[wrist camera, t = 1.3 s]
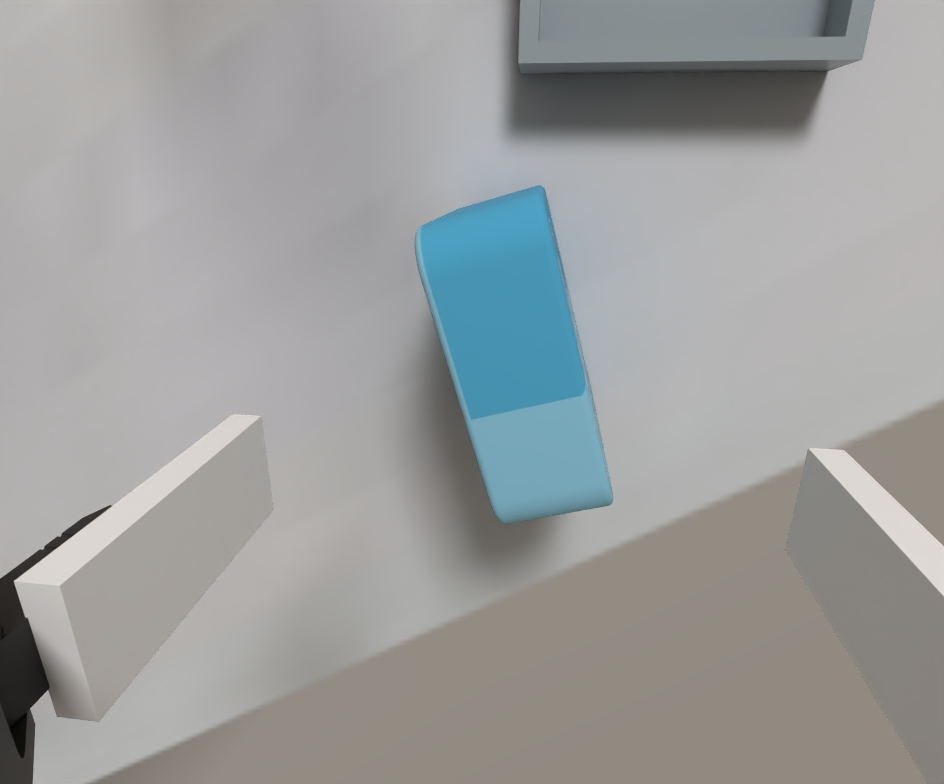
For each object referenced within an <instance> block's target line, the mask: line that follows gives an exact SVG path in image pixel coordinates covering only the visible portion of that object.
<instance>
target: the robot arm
mask: <svg viewBox="0 0 944 784" xmlns="http://www.w3.org/2000/svg"><path fill="white" fill-rule="evenodd" d="M272 511H273V503H272V495H271V487H270V479H269V471H268V463H267V456H266V448H265V440H264V432H263V424H262V416H255V415H238V414H233V415H231V416H230V417H229V418H227V419H226V420H225V421H223V422H222V423H221V424H219V425H218V426H217V427H215V428H214V429H213V430H212V431H210V432H209V433H208V434H206V435H205V436H204V437H202V438H201V439H200V440H198V441H197V442H196V443H194V444H193V445H192V446H191V447H189V448H188V449H187V450H185V451H184V452H183V453H181V454H180V455H179V456H177V457H176V458H175V459H173V460H172V461H171V462H170V463H168V464H167V465H166V466H164V467H163V468H162V469H160V470H159V471H158V472H156V473H155V474H154V475H152V476H151V477H150V478H149V479H147V480H146V481H145V482H143V483H142V484H141V485H139V486H138V487H137V488H135V489H134V490H133V491H131V492H130V493H129V494H128V495H126V496H125V497H124V498H122V499H121V500H120V501H118V502H117V503H116V504H114V505H113V506H111V505H109V506H107V507H105V508H103V509H101V510H99V511H97V512H94V513H92V514H90V515H88V516H86V517H84V518H82V519H81V520H79V521H78V522H77V523H75V524H74V525H72V526H71V527H70V528H68V529H67V530H66V531H64V532H63V533H62V536H61V537H56V538H55V539H54V540H52V541H51V542H49V543H48V544H47V545H45V546H44V547H45V548H44V550H39V551H37V552H36V553H35V554H33V555H32V556H31V557H29V558H28V559H26V560H25V561H24V562H22V563H21V564H20V565H18V566H17V567H16V568H14V569H13V570H12V571H10V572H9V573H8V574H6V575H5V576H3V577H2V578H1V579H0V784H33V762H34V740H35V722H34V719H33V716H32V713H31V710H30V708H31V707H32V706H33V705H34V704H35V703H36V702H37V701H38V700H39V699H40V697H41V696H42V695H43V694H44V693H45V692H46V691H47V690H49V693H50V696H51V700H52V703H53V706H54V709H55V712H56V715H57V717H65V718H72V719H80V720H88V721H96V722H99V721H100V720H101V719H102V717H103V716H104V715H105V714H106V712H107V711H108V710H109V709H110V708H111V706H112V705H113V704H114V703H115V702H116V700H117V699H118V698H119V697H120V695H121V694H122V693H123V692H124V691H125V689H126V688H127V687H128V686H129V685H130V683H131V682H132V681H133V680H134V679H135V677H136V676H137V675H138V674H139V672H140V671H141V670H142V669H143V668H144V666H145V665H146V664H147V663H148V662H149V660H150V659H151V658H152V657H153V655H154V654H155V653H156V652H157V651H158V649H159V648H160V647H161V646H162V645H163V643H164V642H165V641H166V640H167V638H168V637H169V636H170V635H171V634H172V632H173V631H174V630H175V629H176V628H177V626H178V625H179V624H180V623H181V621H182V620H183V619H184V618H185V617H186V615H187V614H188V613H189V612H190V611H191V609H192V608H193V607H194V606H195V604H196V603H197V602H198V601H199V600H200V598H201V597H202V596H203V595H204V594H205V592H206V591H207V590H208V589H209V587H210V586H211V585H212V584H213V583H214V581H215V580H216V579H217V578H218V577H219V575H220V574H221V573H222V572H223V571H224V569H225V568H226V567H227V566H228V564H229V563H230V562H231V561H232V560H233V558H234V557H235V556H236V555H237V554H238V552H239V551H240V550H241V549H242V547H243V546H244V545H245V544H246V543H247V541H248V540H249V539H250V538H251V537H252V535H253V534H254V533H255V532H256V530H257V529H258V528H259V527H260V526H261V524H262V523H263V522H264V521H265V520H266V518H267V517H268V516H269V515H270V513H271V512H272ZM785 551H786V552H787V554H788V556H789V557H790V559H791V560H792V562H793V564H794V566H795V567H796V569H797V570H798V572H799V574H800V575H801V577H802V579H803V580H804V582H805V584H806V585H807V587H808V589H809V590H810V592H811V593H812V595H813V597H814V598H815V600H816V602H817V603H818V605H819V607H820V608H821V610H822V612H823V613H824V615H825V617H826V618H827V620H828V621H829V623H830V625H831V626H832V628H833V630H834V631H835V633H836V635H837V636H838V638H839V640H840V641H841V643H842V644H843V646H844V648H845V649H846V651H847V653H848V654H849V656H850V658H851V659H852V661H853V663H854V664H855V666H856V667H857V669H858V671H859V672H860V674H861V676H862V677H863V679H864V681H865V682H866V684H867V685H868V687H869V689H870V690H871V692H872V694H873V695H874V697H875V699H876V700H877V702H878V703H879V705H880V707H881V708H882V710H883V712H884V713H885V715H886V717H887V718H888V720H889V722H890V723H891V725H892V727H893V728H894V730H895V732H896V733H897V735H898V736H899V738H900V740H901V741H902V743H903V745H904V746H905V748H906V750H907V751H908V753H909V755H910V756H911V758H912V759H913V761H914V763H915V764H916V766H917V768H918V769H919V771H920V773H921V774H922V776H923V778H924V779H925V781H926V782H927V784H944V546H943V545H942V544H941V543H939V542H938V541H937V540H936V539H935V538H934V537H933V536H932V535H931V534H930V533H929V532H928V531H927V530H926V529H925V528H924V527H923V526H922V525H921V524H920V523H919V522H918V521H917V520H916V519H914V517H913V516H912V515H911V514H909V513H908V512H907V511H906V510H905V509H904V508H903V507H902V506H901V505H900V504H899V503H898V502H897V501H896V500H895V499H894V498H893V497H892V496H891V495H890V494H889V493H888V492H887V491H886V490H884V489H883V488H882V487H881V486H880V485H879V484H878V483H877V482H876V481H875V480H874V479H873V478H872V477H871V476H870V475H869V474H868V473H867V472H866V471H865V470H864V469H863V468H862V467H861V466H860V465H859V464H858V463H857V462H856V461H855V460H854V459H853V458H852V457H850V456H849V455H848V454H847V453H846V452H845V451H844V450H833V449H816V448H808V451H807V455H806V460H805V464H804V468H803V473H802V477H801V482H800V486H799V490H798V495H797V499H796V503H795V508H794V512H793V517H792V521H791V526H790V530H789V534H788V539H787V543H786V548H785Z"/></svg>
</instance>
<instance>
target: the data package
mask: <svg viewBox="0 0 944 784" xmlns="http://www.w3.org/2000/svg"><path fill="white" fill-rule="evenodd" d="M415 254H416V260H417V265H418V270H419V274H420V277H421V281H422V284H423V287H424V291H425V294H426V297H427V300H428V304H429V307H430V310H431V313H432V317H433V320H434V323H435V326H436V329H437V333H438V336H439V339H440V342H441V346H442V349H443V352H444V355H445V359H446V362H447V365H448V368H449V371H450V375H451V378H452V381H453V384H454V388H455V391H456V394H457V397H458V401H459V404H460V407H461V410H462V413H463V417H464V420H465V423H466V426H467V430H468V433H469V436H470V439H471V443H472V446H473V449H474V452H475V455H476V459H477V462H478V465H479V468H480V472H481V475H482V478H483V481H484V485H485V488H486V491H487V494H488V498H489V501H490V504H491V507H492V509H493V512H494V514H495V516H496V517H497V519H498V520H499V521H500V522H502V523H504V524H509V523H514V522H520V521H526V520H531V519H537V518H542V517H548V516H554V515H559V514H565V513H570V512H576V511H581V510H587V509H593V508H598V507H604V506H609V505H610V504H611V503H612V502H613V493H612V488H611V483H610V478H609V473H608V468H607V463H606V458H605V453H604V449H603V444H602V439H601V434H600V429H599V424H598V419H597V414H596V409H595V404H594V400H593V395H592V391H591V386H590V382H589V378H588V373H587V369H586V365H585V360H584V356H583V352H582V347H581V343H580V339H579V334H578V330H577V326H576V321H575V317H574V313H573V308H572V304H571V300H570V296H569V291H568V287H567V283H566V278H565V274H564V270H563V265H562V261H561V257H560V252H559V248H558V244H557V239H556V235H555V231H554V226H553V222H552V218H551V213H550V209H549V205H548V201H547V197H546V193H545V189H544V188H543V187H542V186H535V187H531V188H528V189H524V190H521V191H518V192H514V193H511V194H508V195H504V196H501V197H497V198H494V199H491V200H487V201H484V202H480V203H477V204H474V205H470V206H467V207H463V208H460V209H457V210H455V211H453V212H450V213H448V214H446V215H444V216H442V217H440V218H437V219H435V220H433V221H431V222H429V223H427V224H425V225H422V226H421V227H420V228H418V230H417V232H416V235H415Z"/></svg>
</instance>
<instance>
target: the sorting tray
mask: <svg viewBox="0 0 944 784" xmlns="http://www.w3.org/2000/svg"><path fill="white" fill-rule="evenodd" d="M874 1H875V0H520V21H519V55H518V64H519V68H520V72H521V74H556V73H658V72H760V71H830V70H833V69H836V68H838V67H841V66H844V65H847V64H850V63H853V62H856V61H859V60H862V58H863V53H864V48H865V44H866V39H867V34H868V29H869V25H870V20H871V15H872V10H873V6H874Z"/></svg>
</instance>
